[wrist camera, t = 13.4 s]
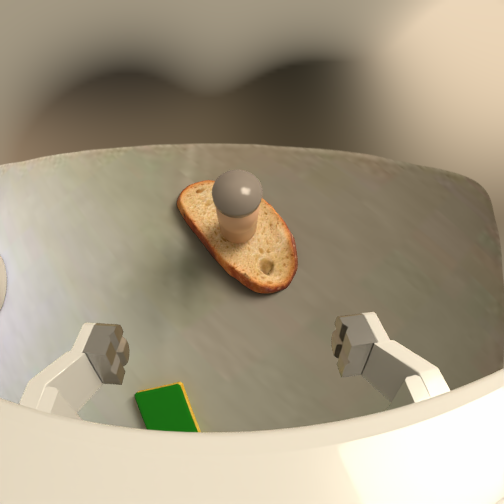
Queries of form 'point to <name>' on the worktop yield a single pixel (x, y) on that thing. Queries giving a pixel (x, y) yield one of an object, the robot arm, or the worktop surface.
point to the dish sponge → (167, 409)
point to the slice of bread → (244, 254)
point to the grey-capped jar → (237, 204)
